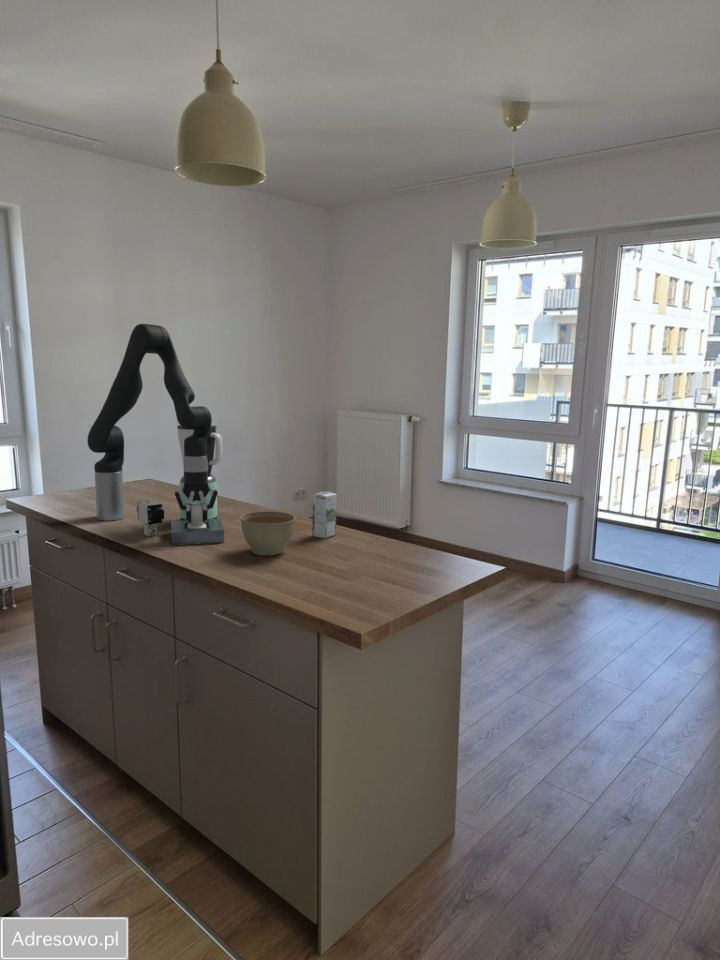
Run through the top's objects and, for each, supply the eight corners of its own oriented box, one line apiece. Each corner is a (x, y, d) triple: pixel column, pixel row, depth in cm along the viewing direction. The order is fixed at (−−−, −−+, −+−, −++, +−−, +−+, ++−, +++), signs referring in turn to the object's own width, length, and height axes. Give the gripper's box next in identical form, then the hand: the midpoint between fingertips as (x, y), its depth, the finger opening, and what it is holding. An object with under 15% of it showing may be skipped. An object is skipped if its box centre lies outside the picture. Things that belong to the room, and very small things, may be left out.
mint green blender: (167, 522, 227) (164, 423, 221) (193, 515, 239) (191, 421, 233) (209, 529, 219) (208, 427, 213) (234, 521, 231) (233, 424, 225)
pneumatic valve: (150, 540, 204) (149, 503, 202) (136, 532, 213) (135, 496, 211) (167, 537, 208) (166, 501, 206) (153, 530, 217) (152, 495, 214)
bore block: (171, 532, 214) (171, 520, 213) (220, 530, 218) (220, 518, 218) (171, 545, 199) (171, 532, 198) (224, 542, 203) (224, 530, 203)
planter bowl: (250, 562, 184) (250, 525, 182) (234, 547, 198) (233, 513, 196) (302, 556, 191) (303, 520, 189) (283, 542, 205) (283, 509, 203)
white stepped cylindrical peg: (187, 535, 211) (186, 502, 209) (205, 534, 212) (205, 501, 211) (188, 540, 205) (187, 506, 203) (207, 539, 207) (206, 505, 205)
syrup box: (322, 532, 218) (323, 490, 216) (336, 535, 215) (337, 493, 213) (311, 536, 214) (312, 493, 211) (325, 539, 211) (326, 495, 208)
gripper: (217, 467, 210) (218, 518, 213) (172, 468, 206) (173, 520, 209) (219, 470, 203) (220, 523, 206) (172, 471, 199) (174, 525, 202)
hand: (196, 521), depth 208 cm, fingers closed on white stepped cylindrical peg, 4 cm apart
